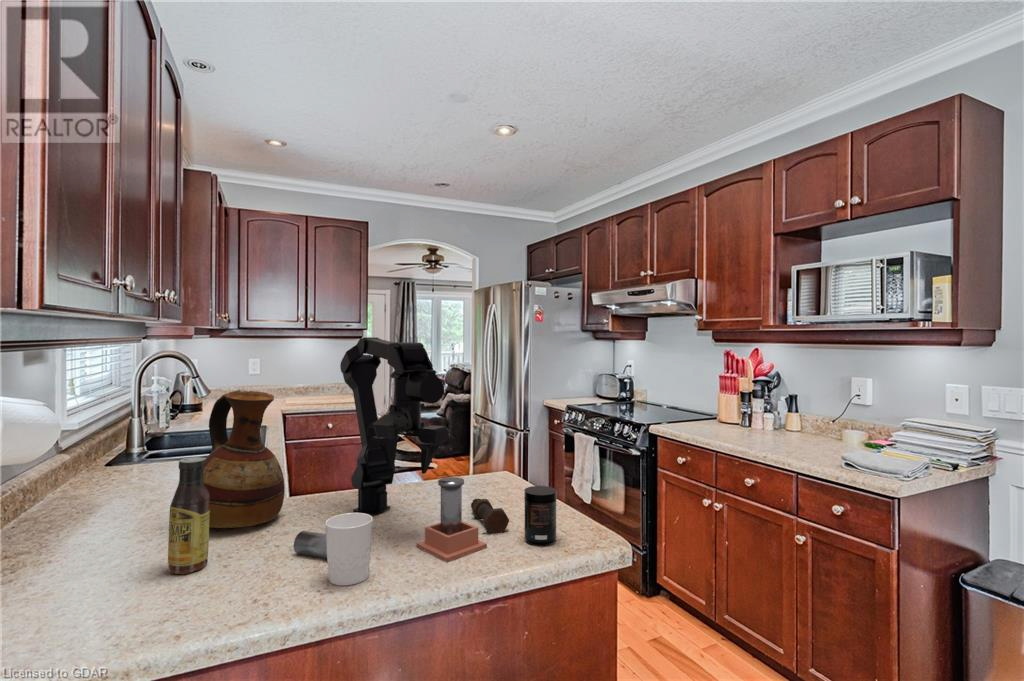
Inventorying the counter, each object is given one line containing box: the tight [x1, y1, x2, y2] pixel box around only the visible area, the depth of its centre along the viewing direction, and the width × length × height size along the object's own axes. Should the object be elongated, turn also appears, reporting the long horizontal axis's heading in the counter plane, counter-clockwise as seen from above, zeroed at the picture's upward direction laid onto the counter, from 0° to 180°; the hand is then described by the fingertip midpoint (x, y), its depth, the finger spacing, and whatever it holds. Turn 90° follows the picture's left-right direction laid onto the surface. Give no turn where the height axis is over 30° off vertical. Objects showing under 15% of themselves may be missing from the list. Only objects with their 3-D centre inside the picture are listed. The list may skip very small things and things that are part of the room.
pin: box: [293, 530, 327, 559], centre depth 99 cm, size 12×4×4 cm
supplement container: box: [523, 485, 558, 547], centre depth 107 cm, size 7×7×10 cm
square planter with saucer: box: [415, 520, 488, 563], centre depth 103 cm, size 10×10×4 cm
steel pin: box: [437, 476, 465, 535], centre depth 103 cm, size 5×5×13 cm
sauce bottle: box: [167, 456, 210, 575], centre depth 93 cm, size 6×6×20 cm
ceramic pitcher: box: [203, 390, 285, 529], centre depth 117 cm, size 20×20×30 cm
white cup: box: [325, 512, 374, 586], centre depth 90 cm, size 8×8×10 cm
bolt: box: [470, 498, 510, 535], centre depth 118 cm, size 6×5×15 cm
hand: (407, 470), depth 112 cm, fingers open, 9 cm apart
